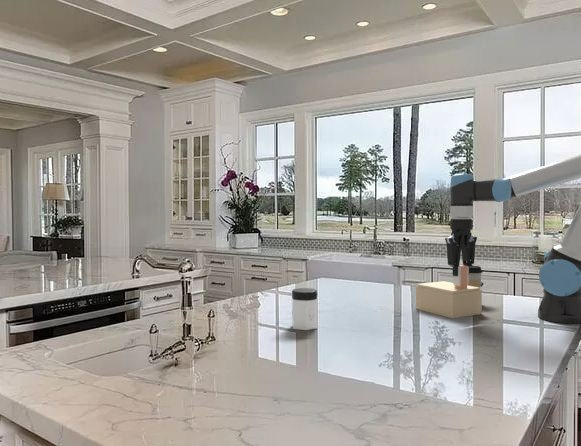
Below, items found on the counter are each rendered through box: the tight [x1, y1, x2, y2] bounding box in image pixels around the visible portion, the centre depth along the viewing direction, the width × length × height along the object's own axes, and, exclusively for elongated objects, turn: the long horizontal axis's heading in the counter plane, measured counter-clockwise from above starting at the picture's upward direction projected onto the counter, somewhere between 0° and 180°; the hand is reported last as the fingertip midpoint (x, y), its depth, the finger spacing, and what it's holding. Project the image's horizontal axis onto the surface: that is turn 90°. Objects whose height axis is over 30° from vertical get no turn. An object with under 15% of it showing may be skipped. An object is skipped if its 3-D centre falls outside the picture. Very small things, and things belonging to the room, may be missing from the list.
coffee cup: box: [468, 265, 483, 289], centre depth 193 cm, size 9×9×15 cm
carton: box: [415, 285, 483, 319], centre depth 178 cm, size 18×14×9 cm
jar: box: [291, 287, 319, 331], centre depth 158 cm, size 9×8×12 cm
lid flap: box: [416, 264, 481, 293], centre depth 178 cm, size 17×14×9 cm
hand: (460, 284), depth 173 cm, fingers closed on lid flap, 3 cm apart
